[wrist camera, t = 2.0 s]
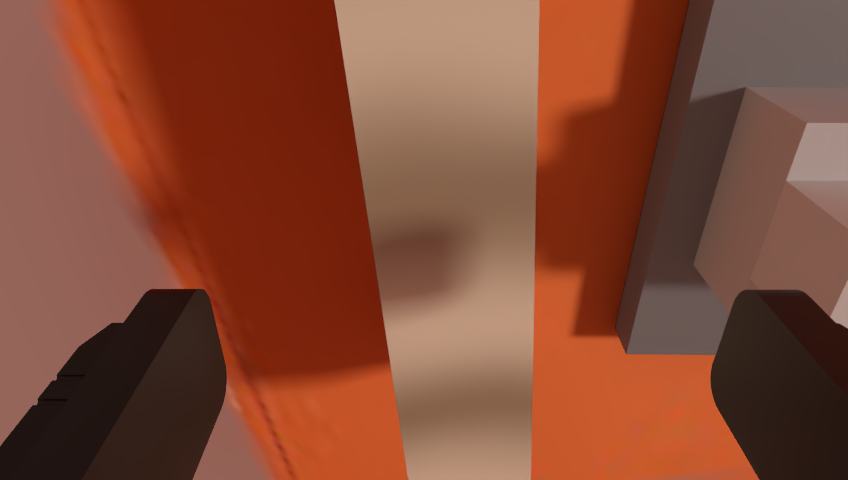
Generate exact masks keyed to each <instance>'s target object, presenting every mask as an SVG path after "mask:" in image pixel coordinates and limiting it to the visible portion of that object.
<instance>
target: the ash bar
mask: <svg viewBox="0 0 848 480" xmlns="http://www.w3.org/2000/svg"><path fill="white" fill-rule="evenodd" d="M334 2H335V8H336V15H337V21H338V28H339V34H340V41H341V47H342V54H343V60H344V67H345V73H346V80H347V86H348V93H349V99H350V105H351V112H352V118H353V125H354V131H355V138H356V144H357V151H358V157H359V164H360V170H361V177H362V183H363V190H364V196H365V203H366V209H367V216H368V222H369V229H370V235H371V241H372V248H373V254H374V261H375V267H376V274H377V280H378V287H379V293H380V300H381V306H382V313H383V319H384V326H385V332H386V339H387V345H388V352H389V358H390V365H391V371H392V377H393V384H394V390H395V397H396V403H397V410H398V416H399V423H400V429H401V436H402V442H403V449H404V455H405V462H406V468H407V475H408V480H531V443H532V388H533V332H534V276H535V221H536V165H537V109H538V54H539V0H334Z"/></svg>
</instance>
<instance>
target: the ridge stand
mask: <svg viewBox="0 0 848 480" xmlns="http://www.w3.org/2000/svg"><path fill="white" fill-rule="evenodd" d="M743 290H801V291H803V292H805V293H806V294H807V295H809V296H810V297H811V298H812V299H813V300H814V301H815V302H816V303H817V304H818V305H819V306H820V307H821V308H822V309H823V310H824V311H825V312H826V313H827V314H828V315H829V316H830V317H831V318H832V319H833V320H834V321H835V322H836V323H839V324H841V325H843V326H844V327H846V328H848V0H690V1H689V5H688V10H687V14H686V19H685V23H684V27H683V32H682V36H681V41H680V45H679V49H678V54H677V58H676V62H675V67H674V71H673V76H672V80H671V84H670V89H669V93H668V98H667V102H666V106H665V111H664V115H663V119H662V124H661V128H660V133H659V137H658V141H657V146H656V150H655V155H654V159H653V163H652V168H651V172H650V177H649V181H648V185H647V190H646V194H645V198H644V203H643V207H642V212H641V216H640V220H639V225H638V229H637V234H636V238H635V242H634V247H633V251H632V255H631V260H630V264H629V269H628V273H627V277H626V282H625V286H624V291H623V295H622V299H621V304H620V308H619V313H618V317H617V321H616V326H615V329H616V332H617V334H618V336H619V338H620V341H621V343H622V345H623V348H624V350H625V352H626V354H682V355H716V353H717V350H718V347H719V344H720V341H721V338H722V335H723V332H724V329H725V326H726V323H727V320H728V317H729V314H730V311H731V308H732V305H733V302H734V300H735V298H736V297H737V295H738V294H739V293H740V292H741V291H743Z"/></svg>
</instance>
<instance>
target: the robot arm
mask: <svg viewBox="0 0 848 480" xmlns="http://www.w3.org/2000/svg"><path fill="white" fill-rule="evenodd" d="M226 380H227V376H226V365H225V361H224V357H223V352H222V348H221V344H220V340H219V335H218V331H217V327H216V323H215V318H214V314H213V310H212V306H211V302H210V298H209V296H208V294H207V293H206V291H205V290H203V289H151V290H149V291H147V292H146V293H145V294H144V295H143V297H142V298H141V299H140V301H139V302H138V304H137V305H136V306H135V308H134V309H133V310H132V312H131V313H130V315H129V316H128V317H127V319H126V320H125V321H124V323H111V324H110V325H108V326H107V327H106V328H104V329H103V330H101V331H100V332H99V333H97V334H96V335H95V336H93V337H92V338H90V339H89V340H88V341H86V342H85V343H84V344H82V345H81V346H79V348H78V349H77V350H76V351H75V352H74V354H73V355H72V356H71V357H70V359H69V360H68V361H67V363H66V364H65V365H64V366H63V368H62V369H61V370H60V371H59V373H58V374H57V380H56V381H52V382H51V383H50V384H49V385H48V387H47V388H46V389H45V390H44V392H43V393H42V394H41V395H40V397H39V398H38V404H37V405H33V406H32V407H31V408H30V409H29V411H28V412H27V413H26V415H25V416H24V417H23V418H22V419H21V421H20V422H19V424H18V425H17V426H16V427H15V428H14V430H13V431H12V432H11V434H10V435H9V436H8V437H7V438H6V440H5V441H4V442H3V444H2V445H1V446H0V480H192V479H193V477H194V474H195V472H196V469H197V467H198V464H199V462H200V459H201V457H202V454H203V452H204V449H205V447H206V445H207V442H208V440H209V437H210V435H211V433H212V430H213V428H214V425H215V423H216V420H217V418H218V415H219V413H220V410H221V408H222V405H223V402H224V397H225V392H226ZM711 389H712V394H713V398H714V401H715V403H716V406H717V408H718V410H719V411H720V413H721V415H722V417H723V418H724V420H725V422H726V423H727V425H728V427H729V428H730V430H731V432H732V434H733V435H734V437H735V439H736V440H737V442H738V444H739V445H740V447H741V449H742V451H743V452H744V454H745V456H746V457H747V459H748V461H749V462H750V464H751V466H752V468H753V469H754V471H755V473H756V474H757V476H758V478H759V479H760V480H848V328H846V327H844V326H843V325H841V324H839V323H836V322H835V321H834V320H833V319H832V318H831V317H830V316H829V315H828V314H827V313H826V312H825V311H824V310H823V309H822V308H821V307H820V306H819V305H818V304H817V303H816V302H815V301H814V300H813V299H812V298H811V297H810V296H809V295H807V294H806V293H805V292H803V291H801V290H743V291H741V292H740V293H739V294H738V295H737V297H736V298H735V300H734V302H733V305H732V308H731V311H730V314H729V317H728V320H727V323H726V326H725V329H724V332H723V335H722V338H721V341H720V344H719V347H718V350H717V353H716V356H715V359H714V362H713V365H712V369H711Z"/></svg>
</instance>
